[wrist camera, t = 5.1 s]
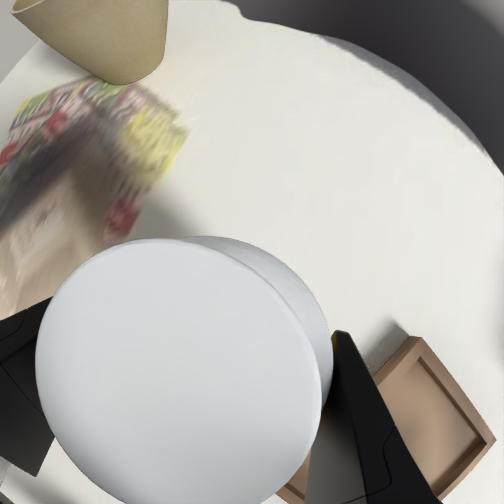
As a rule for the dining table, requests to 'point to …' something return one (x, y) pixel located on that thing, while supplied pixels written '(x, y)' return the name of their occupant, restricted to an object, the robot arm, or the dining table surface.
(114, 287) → the pill bottle
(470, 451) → the tray
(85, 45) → the plant pot
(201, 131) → the dining table surface
